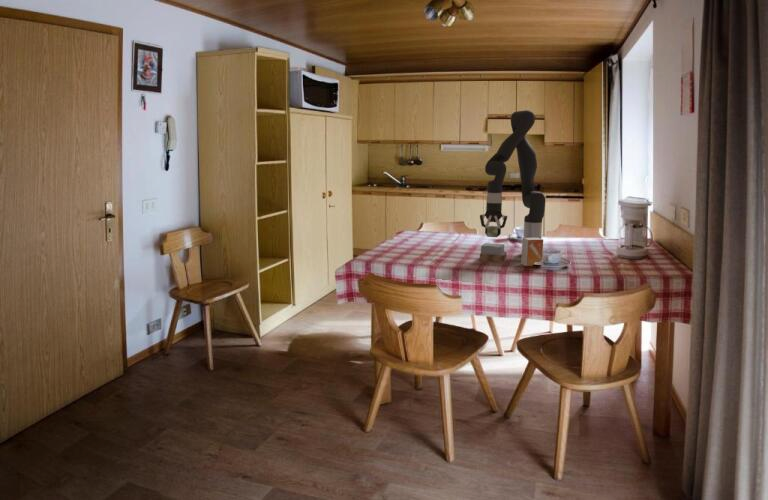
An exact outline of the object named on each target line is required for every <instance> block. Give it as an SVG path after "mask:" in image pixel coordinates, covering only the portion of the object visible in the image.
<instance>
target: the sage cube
mask: <svg viewBox="0 0 768 500" xmlns="http://www.w3.org/2000/svg"><path fill="white" fill-rule="evenodd" d="M486 237H487V238H498V237H499V236H498V226H497V225H489V226H488V227H487V235H486Z"/></svg>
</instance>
